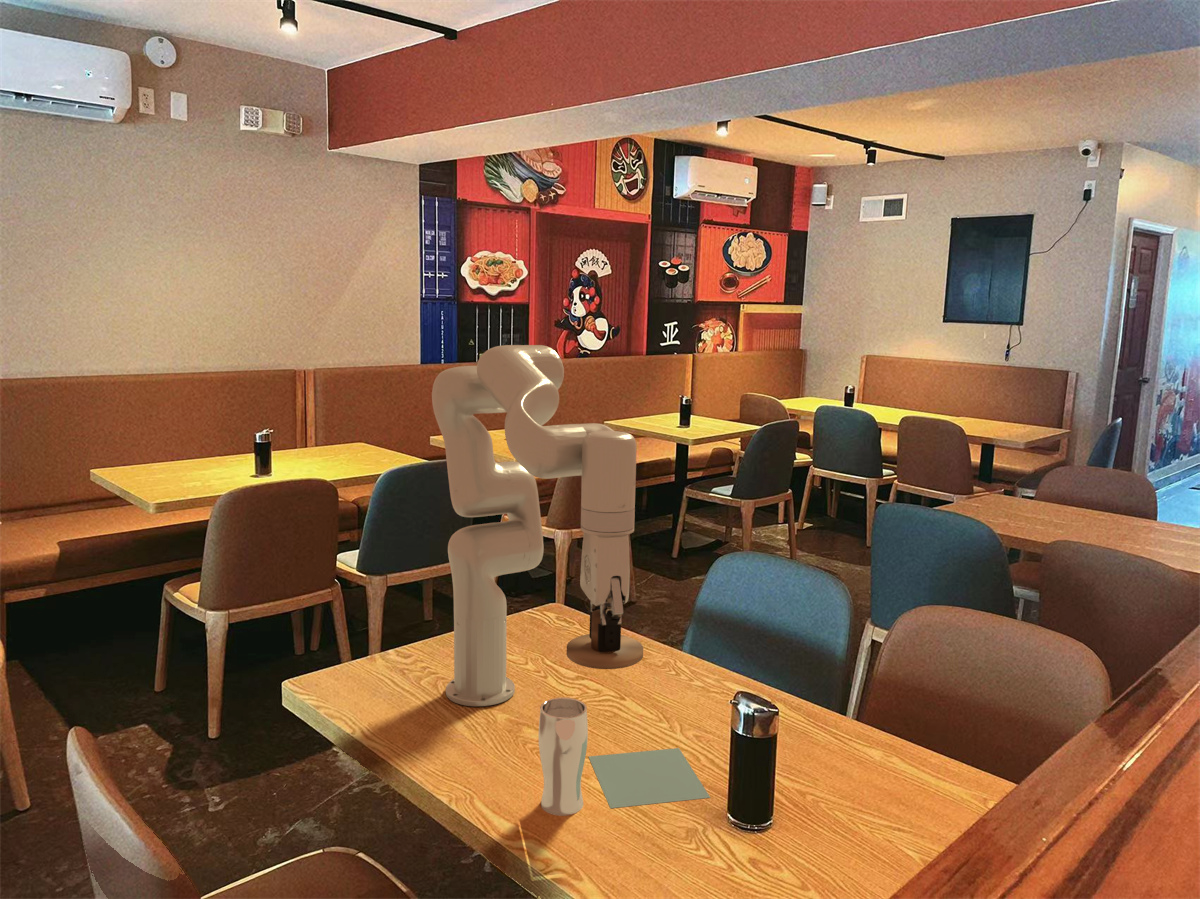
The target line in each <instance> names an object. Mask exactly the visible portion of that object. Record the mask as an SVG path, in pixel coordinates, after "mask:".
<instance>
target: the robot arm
mask: <svg viewBox="0 0 1200 899" xmlns="http://www.w3.org/2000/svg"><path fill="white" fill-rule="evenodd" d="M564 378H565V367H564V363H563V361H562V358H561V357H560V355H559V354H558V353H557V352H556V350H554V349H553V348H552V347H549V346H547V345H543V344H524V345H523V344H509V345H508V344H505V345H498V346H493V347H491V348H489V349H487V350H485V351H484V352H483V353H482V354H481V355H480V357H479V359H478V361H477V365H461V366H456V367H451V368H450V367H449V368H446V369H445V370H443V371H441V372H439V374H438V375H437V376H436V377H435V379H434V382H433V385H432V390H431V391H432V392H431V401H432V402H431V403H432V409H433V414H434V417H435V420H436V422H437V425H438V428H439V430H440V433H441V435H442V436H441V437H442V439H443V443H444V449H445V458H446V466H447V477H448V486H449V493H450V494H449V496H450V500H451V505H452V508H453V510H454V512H455V513H456V514H457V515H459V516H460V517H462V518H463V517H464V518H481V517H488V516H489V517H490V516H496V515H497V516H498V515H505V514H506V515H507V518H508V520H506V521H505V520H504V521H500V522H499V521H498V522H489V523H482V524H481V523H480V524H473V525H467V526H465V527H462V528H459V529H458V530H457V531H455V532H454V533H453V534H452V535H451V536H450V538H449V541H448V544H447V554H448V560H449V561H448V562H449V567H450V572H451V579H452V580H451V582H452V590H453V640H454V641H453V655H454V656H453V659H454V660H453V666H454V667H453V668H454V670H453V671H454V673H453V675H454V676H453V677H454V678H453V679H451V680H450V681H449V682H448V683H447V684H446V686H445V696H446V697H447V698H448V699H449V700H450V701H451V702H453V703H455V704H458V705H461V706H467V707H489V706H493V705H498V704H501V703H503V702H506V701H508V700H509V699H510V698H512V697H513V695H514V694H515V691H516V690H515V688H516V685H515V682H513V680H512V679H510V677H507V618H508V617H507V615H508V614H507V612H508V610H507V607H508V606H507V599H506V595H505V593H504V592H503V590H502V588H500V587H499V586H498V585H497V583H496V582H495V578H496V577H499V576H503V575H508V574H515V573H521V572H526V571H530V570H532V569H535V568H537V567H538V566H539V565H540V563H541V562H542V560H543V556H544V536H543V526H542V519H541V516H542V515H541V508H540V501H539V500H540V498H539V490H538V484H537V480H536V478H538V479H547V480H548V479H550V480H551V479H557V478H567V477H577V476H578V477H581V491H580V492H581V493H580V495H581V496H580V497H581V498H580V501H581V502H580V531H581V532H582V533H583V536H582V537H583V539H582V547H581V558H580V559H581V562H580V576H579V579H580V580H579V583H580V584H579V585H580V589H581V590H582V592H583V593H584V595H585V596H586V597H587V598H588V600H589V601H590V603H589V609H590V612H589V633H588V634H589V636H590V638H591V626H592V612H593V611H595V610H599V609H600V621H601V624H598V650H599V652H608V651H619V650H620V647H621V635H622V616H623V615H624V606H623V605H625V604H626V603H627V602H628V601H629V597H630V596H629V595H630V575H631V574H630V566H631V565H630V541H629V540H630V537H629V535H630V534H632V533H633V534H634V532H635V518H636V516H635V512H636V506H635V505H636V485H637V484H636V483H637V482H636V481H637V480H636V479H637V478H636V477H637V440H636V438H635V437H634V436H633V435H632V434H630V433H629V432H626V431H619V430H614V429H612V428H611V427H609V426H607V425H606V424H603V423H597V422H595V423H594V422H592V423H570V424H569V423H567V424H553V425H545V424H547V423H548V422H549V421H550V419H552V417H553V416H554V415H555V413H556V412H557V409H558V407H559V404H560V393H559V389H560V388H561V386H562V384H563V382H564ZM501 413H504V414H505V413H506V415H505V418H504V419H505V420H504V435H505V441H506V445H507V447H508V450H509V452H510V454H511V455H512V456H513V458H514V461H512V460H511V461H501V462H496V460H495V456H494V446H493V439H492V436H491V434H490V433H489V431H488V430H487V428H486V426H485V425H484V424H483V423H482V422H481V420H479V419H478V418H477V417H476V416H474V415H477V414H478V415H480V414H501ZM515 460H516V461H515ZM606 609H611V610H608V611H607V613H606Z"/></svg>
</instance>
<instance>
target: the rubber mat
mask: <svg viewBox="0 0 1200 899" xmlns="http://www.w3.org/2000/svg"><path fill="white" fill-rule="evenodd" d="M587 757H588V759H589V762H590V764H591V766H592V769H593V771H594V773H595V776H596V778H597V780H598V783H599V785H600V787H601V790H602V792H603V794H604V797H605V799H606V801H607V805H608V806H609V808H610V810H611V809H620V808H627V807H629V808H630V807H639V806H647V805H657V804H665V803H666V804H667V803H674V802H675V803H677V802H685V801H692V800H703V799H711V796H710V794H709V793H708V792H707V790H706V788H705V787H704V785H703V783H702V782H701V780H700V778H698V775H697V774H696V773H695V771H694V769H693V768H692V766H691V765H690V763H689V761H688V760H687V759H686V757H685V755H684V753H683V752H682V750H681V749H680V747H676V748H675V747H674V748H664V749H663V748H662V749H654V750H643V751H634V752H633V751H632V752H623V753H621V752H620V753H611V754H610V753H609V754H602V755H601V754H600V755H589V756H587Z"/></svg>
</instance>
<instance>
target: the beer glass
mask: <svg viewBox="0 0 1200 899" xmlns="http://www.w3.org/2000/svg"><path fill="white" fill-rule="evenodd" d="M539 709H540V711H539V721H538V749H539V750H538V751H539V756H540V757H539V758H540V764H541V769H542V774H543V775H542V776H543V791H542V795H541V801H540V807H541V809H542V810H543V812H544V811H545V812H546V813H547V814H549V815H550V814H551V815H552V816H553V815H554V816H560V817H564V816H572V815H574V814H577V813H578V812H580V811H581V810H582V809H583V807H584V799H583V793H582V776H583V770H584V765H585V761H586V756H587V749H588V739H589V730H588V729H589V724H588V711H587V710H588V707H587V705H586V704H585V702H583V701H581V700H579V699H576V698H573V697H572V698H571V697H556V698H551V699H548V700H546V701H544V702H543V703H541V705H540V708H539Z"/></svg>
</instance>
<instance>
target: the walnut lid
mask: <svg viewBox="0 0 1200 899" xmlns="http://www.w3.org/2000/svg"><path fill="white" fill-rule="evenodd" d="M608 610H611V608H610V609H606V613H607V611H608ZM598 624H601V621H600V609H599V610H595V611H592V626H591V638H590V636H589V633H587V634H583V635H580V636H577V637H574V638H571V639H570V640H569V641H568V643H567V644H566V657H567V658H568V660H569V661H571V662H573V663H574V664H576V665H578V666H582V667H585V668H590V669H597V670H618V669H619V670H620V669H624V668H628V667H631V666H634V665H636V664H638V663H640V662H641V661H642V660H643V658H644V646H643V644H642V643H641V642H640V641H639V640H637V639H635V638H633V637H630V636H627V635H624V634H623V635H622V634H621V647H620V650H619V651H608V652H599V650H598Z"/></svg>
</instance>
